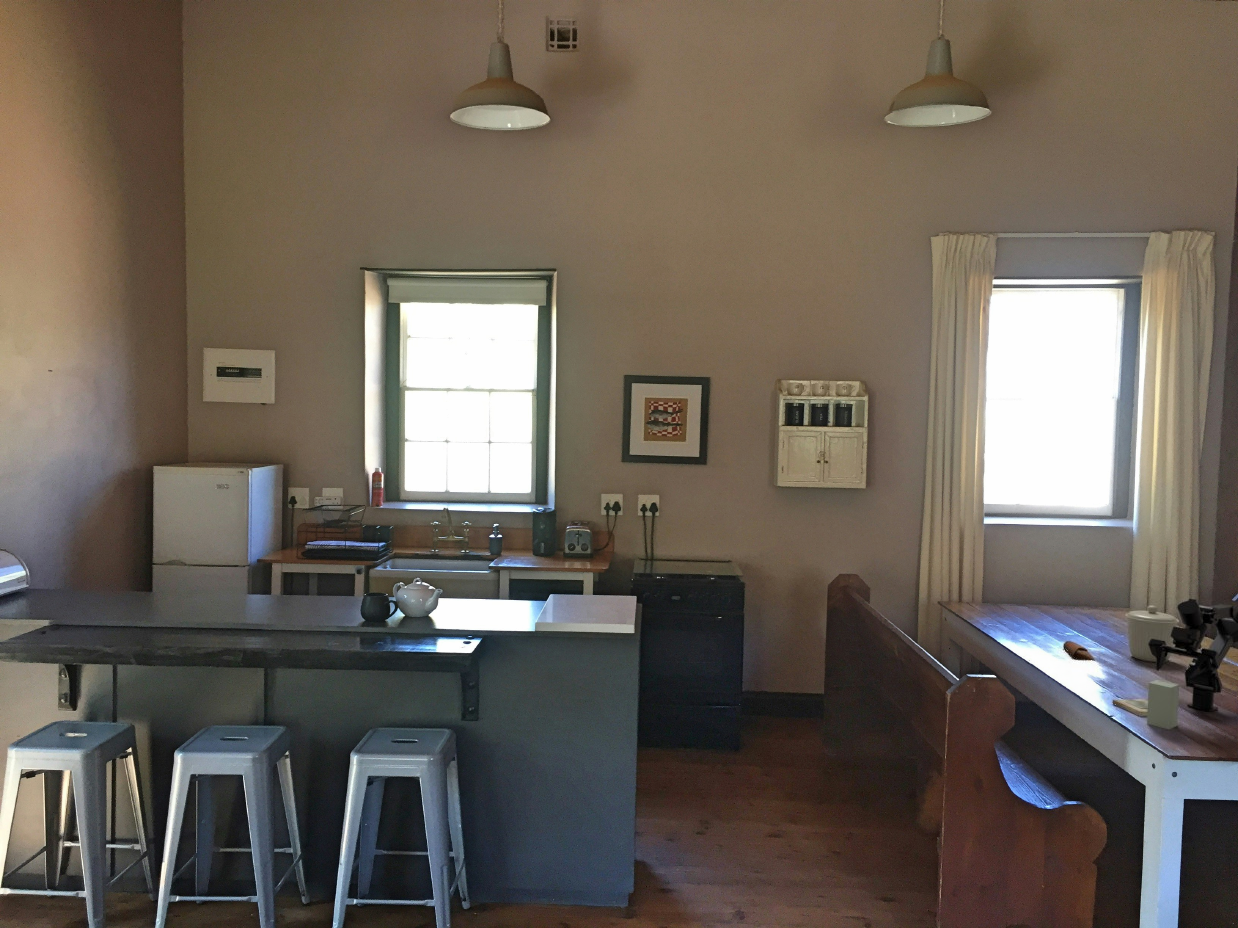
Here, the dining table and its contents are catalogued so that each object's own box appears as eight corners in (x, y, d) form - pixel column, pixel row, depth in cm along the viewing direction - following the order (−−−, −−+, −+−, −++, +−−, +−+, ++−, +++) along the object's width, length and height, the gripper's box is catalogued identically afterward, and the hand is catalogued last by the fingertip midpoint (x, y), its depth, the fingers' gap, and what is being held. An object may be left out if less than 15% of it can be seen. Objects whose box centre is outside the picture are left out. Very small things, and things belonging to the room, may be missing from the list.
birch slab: (1145, 704, 288) (1145, 698, 288) (1174, 716, 277) (1174, 710, 277) (1112, 705, 286) (1112, 699, 286) (1139, 717, 275) (1140, 710, 275)
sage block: (1155, 720, 271) (1157, 679, 271) (1177, 725, 266) (1179, 684, 266) (1146, 723, 268) (1148, 682, 267) (1168, 729, 263) (1170, 687, 262)
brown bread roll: (1097, 660, 342) (1088, 645, 343) (1079, 668, 344) (1070, 653, 344) (1085, 650, 359) (1076, 635, 360) (1068, 657, 361) (1060, 642, 362)
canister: (1184, 666, 337) (1187, 611, 336) (1132, 662, 341) (1135, 608, 340) (1165, 655, 355) (1168, 602, 354) (1116, 651, 358) (1119, 599, 358)
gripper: (1153, 612, 282) (1134, 648, 275) (1220, 624, 267) (1201, 662, 260) (1162, 637, 286) (1143, 672, 280) (1228, 649, 271) (1210, 687, 265)
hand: (1173, 673), depth 271 cm, fingers open, 9 cm apart
